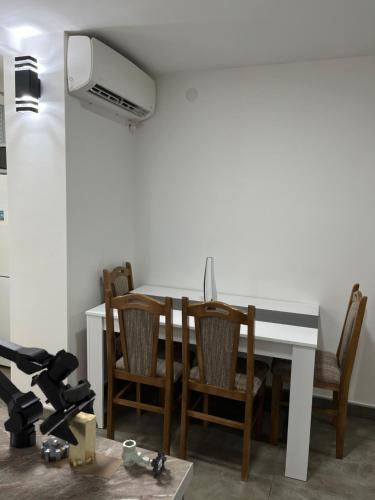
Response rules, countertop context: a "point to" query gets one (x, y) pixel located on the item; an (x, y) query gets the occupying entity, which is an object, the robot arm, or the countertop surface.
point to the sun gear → (54, 450)
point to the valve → (142, 458)
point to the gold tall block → (83, 440)
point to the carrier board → (91, 465)
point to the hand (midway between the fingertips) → (87, 436)
